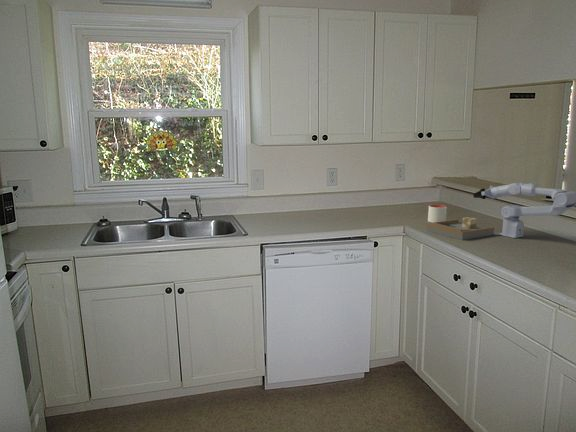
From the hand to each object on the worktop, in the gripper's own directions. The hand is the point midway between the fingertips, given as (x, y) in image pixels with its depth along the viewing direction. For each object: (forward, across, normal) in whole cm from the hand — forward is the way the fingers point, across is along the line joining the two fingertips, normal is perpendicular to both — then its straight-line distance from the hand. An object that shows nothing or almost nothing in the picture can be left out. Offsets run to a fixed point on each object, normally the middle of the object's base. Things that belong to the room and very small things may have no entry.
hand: (478, 195), depth 263 cm
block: (+2, +9, +17) cm, 19 cm away
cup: (+24, +8, +12) cm, 29 cm away
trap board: (+3, +17, +19) cm, 25 cm away
